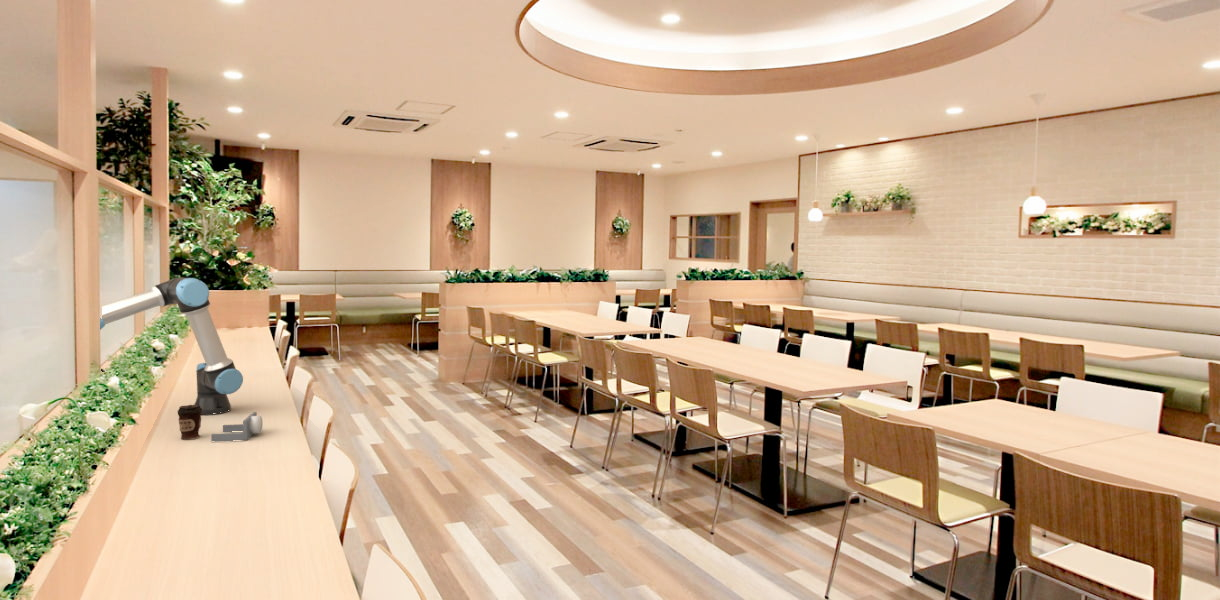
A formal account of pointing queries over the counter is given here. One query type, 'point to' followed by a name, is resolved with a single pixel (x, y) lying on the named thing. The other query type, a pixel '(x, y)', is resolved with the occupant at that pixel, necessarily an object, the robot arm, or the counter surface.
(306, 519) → the counter surface
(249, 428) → the bracket
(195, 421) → the coffee cup
